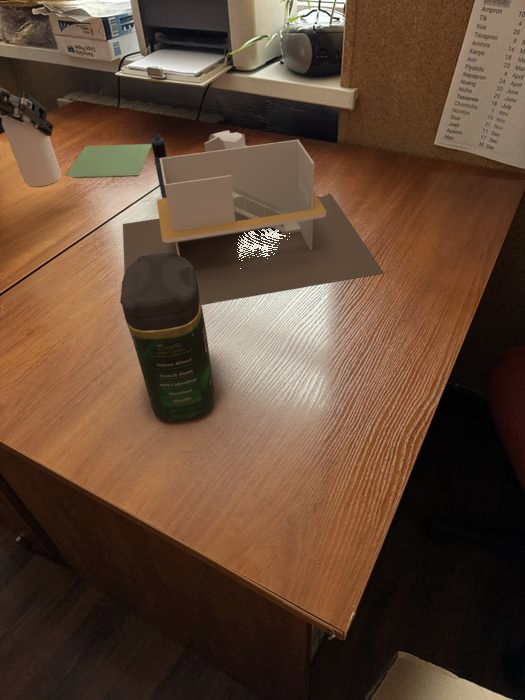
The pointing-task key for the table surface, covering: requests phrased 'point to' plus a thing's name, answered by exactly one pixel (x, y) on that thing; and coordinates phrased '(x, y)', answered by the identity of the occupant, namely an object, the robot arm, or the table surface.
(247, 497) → the table surface
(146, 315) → the coffee jar
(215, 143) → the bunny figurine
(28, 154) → the can
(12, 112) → the robot arm
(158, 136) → the vaping device
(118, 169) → the mat
